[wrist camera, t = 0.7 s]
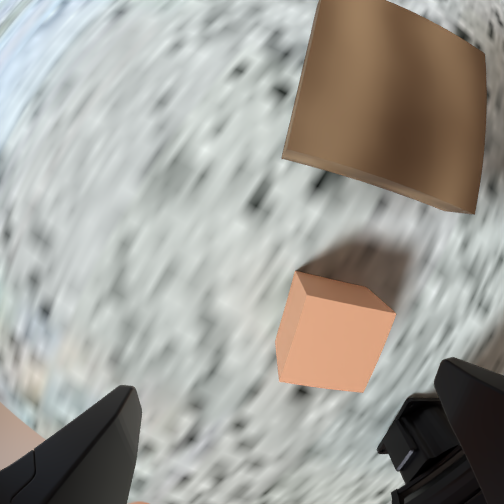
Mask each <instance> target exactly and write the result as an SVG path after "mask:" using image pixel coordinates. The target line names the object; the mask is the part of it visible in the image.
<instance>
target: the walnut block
mask: <svg viewBox="0 0 504 504" xmlns="http://www.w3.org/2000/svg"><path fill="white" fill-rule="evenodd" d="M486 106H487V89H486V63H485V54H484V53H483V52H482V51H480V50H479V49H477V48H476V47H474V46H473V45H471V44H469V43H468V42H466V41H465V40H463V39H461V38H460V37H458V36H457V35H455V34H453V33H451V32H450V31H448V30H446V29H444V28H443V27H441V26H439V25H437V24H435V23H433V22H432V21H430V20H428V19H426V18H424V17H422V16H420V15H418V14H416V13H414V12H411V11H409V10H407V9H405V8H403V7H400V6H398V5H396V4H394V3H391V2H389V1H386V0H319V2H318V5H317V8H316V13H315V17H314V21H313V26H312V30H311V34H310V39H309V43H308V47H307V52H306V56H305V60H304V65H303V69H302V73H301V77H300V82H299V86H298V90H297V94H296V99H295V103H294V107H293V111H292V116H291V120H290V124H289V128H288V132H287V137H286V141H285V145H284V149H283V153H282V158H281V159H285V160H289V161H293V162H297V163H301V164H304V165H308V166H312V167H315V168H319V169H323V170H326V171H329V172H333V173H336V174H340V175H343V176H346V177H350V178H353V179H356V180H359V181H362V182H365V183H369V184H372V185H375V186H378V187H381V188H384V189H386V190H389V191H392V192H395V193H398V194H401V195H404V196H406V197H409V198H412V199H415V200H417V201H420V202H423V203H425V204H428V205H430V206H433V207H435V208H438V209H441V210H443V211H449V212H458V213H466V214H474V215H475V210H476V205H477V199H478V193H479V187H480V180H481V173H482V165H483V156H484V145H485V132H486Z"/></svg>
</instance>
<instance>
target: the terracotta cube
mask: <svg viewBox="0 0 504 504" xmlns="http://www.w3.org/2000/svg"><path fill="white" fill-rule="evenodd" d="M395 316H396V313H395V312H394V311H393V310H392V309H391V308H390V307H389V306H387V305H386V304H385V303H384V302H383V301H382V300H381V299H380V298H378V297H377V296H376V295H375V294H374V293H373V292H372V291H370V290H369V289H368V288H367V287H364V286H359V285H355V284H351V283H346V282H342V281H338V280H333V279H329V278H324V277H320V276H316V275H312V274H307V273H303V272H299V271H295V273H294V277H293V281H292V284H291V288H290V292H289V295H288V299H287V302H286V306H285V309H284V313H283V316H282V319H281V323H280V326H279V330H278V333H277V336H276V340H275V345H276V355H277V365H278V375H279V381H280V382H285V383H291V384H298V385H304V386H311V387H318V388H326V389H334V390H342V391H352V392H362V393H363V392H364V390H365V388H366V386H367V383H368V381H369V379H370V377H371V375H372V373H373V370H374V368H375V366H376V364H377V361H378V359H379V357H380V354H381V352H382V350H383V347H384V345H385V342H386V340H387V337H388V335H389V332H390V330H391V327H392V324H393V322H394V319H395Z"/></svg>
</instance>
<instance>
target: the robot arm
mask: <svg viewBox="0 0 504 504" xmlns="http://www.w3.org/2000/svg"><path fill="white" fill-rule="evenodd" d="M434 386H435V389H436V391H437V394H438V396H439V398H410V399H408V400H406V402H405V403H404V405H403V407H402V408H401V410H400V412H399V414H398V415H397V417H396V419H395V421H394V422H393V424H392V426H391V427H390V429H389V430H388V432H387V434H386V435H385V437H384V438H383V440H382V442H381V443H380V445H379V446H378V448H377V451H378V453H379V454H389V456H390V458H391V460H392V462H393V465H394V467H395V469H396V471H400V473H401V475H402V477H403V480H404V482H405V485H404V486H402V487H401V488H399V489H396V490H394V491H393V492H391V495H392V504H504V376H503V375H501V374H498V373H495V372H492V371H490V370H487V369H484V368H481V367H479V366H476V365H473V364H471V363H468V362H465V361H463V360H460V359H457V358H454V357H451V358H447V359H444V360H442V362H441V363H440V366H439V369H438V371H437V374H436V377H435V380H434ZM409 404H410V405H409ZM141 418H142V408H141V405H140V401H139V398H138V395H137V391H136V389H135V387H133V386H127V385H120V386H118V387H117V388H115V389H114V390H113V391H111V392H110V393H109V394H107V395H106V396H105V397H103V398H102V399H101V400H100V401H98V402H97V403H96V404H94V405H93V406H92V407H90V408H89V409H88V410H86V411H85V412H83V413H82V414H81V415H79V416H78V417H77V418H75V419H74V420H73V421H71V422H70V423H69V424H67V425H66V426H65V427H63V428H62V429H60V430H59V431H58V432H56V433H55V434H54V435H52V436H51V437H50V438H48V439H47V440H45V441H44V442H43V443H41V444H40V445H39V446H37V447H36V448H34V450H31V451H30V452H29V453H27V454H26V455H24V456H23V457H22V458H20V459H19V460H17V461H15V462H14V463H12V464H11V465H9V466H8V467H6V468H4V469H2V470H1V471H0V504H127V500H128V495H129V491H130V486H131V482H132V478H133V473H134V469H135V465H136V460H137V452H138V442H139V434H140V426H141Z"/></svg>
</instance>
